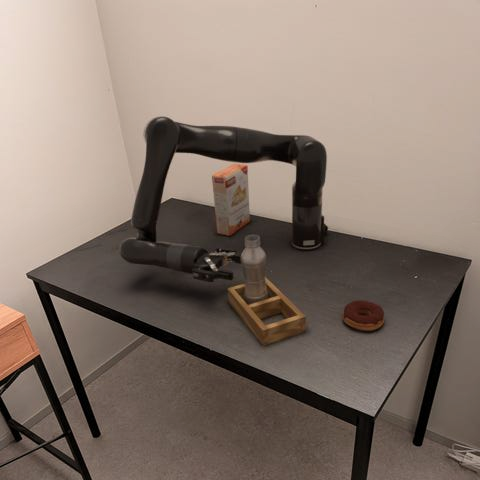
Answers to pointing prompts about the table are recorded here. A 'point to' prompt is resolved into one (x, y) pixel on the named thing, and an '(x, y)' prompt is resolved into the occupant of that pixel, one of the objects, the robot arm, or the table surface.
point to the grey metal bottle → (254, 270)
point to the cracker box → (231, 198)
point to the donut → (357, 320)
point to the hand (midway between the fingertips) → (240, 268)
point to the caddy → (268, 314)
